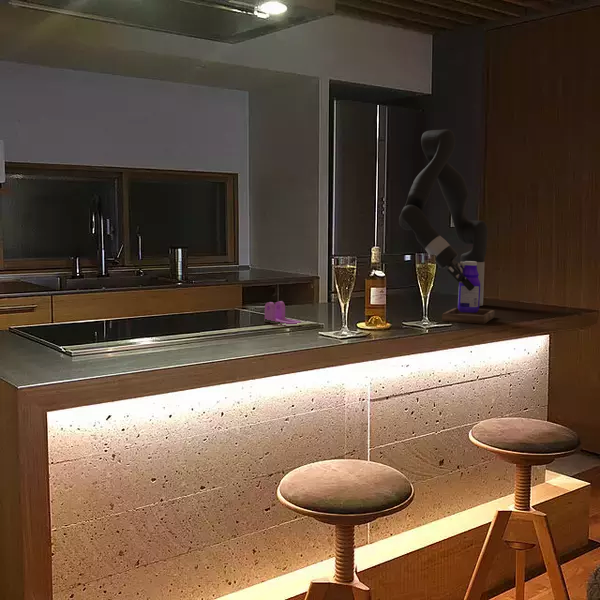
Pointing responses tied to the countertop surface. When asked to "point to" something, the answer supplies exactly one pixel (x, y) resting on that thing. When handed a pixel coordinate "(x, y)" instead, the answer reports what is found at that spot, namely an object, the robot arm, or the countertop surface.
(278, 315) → the bracket
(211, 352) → the countertop surface
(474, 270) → the bottle
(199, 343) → the countertop surface
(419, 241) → the robot arm
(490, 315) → the walnut tray
